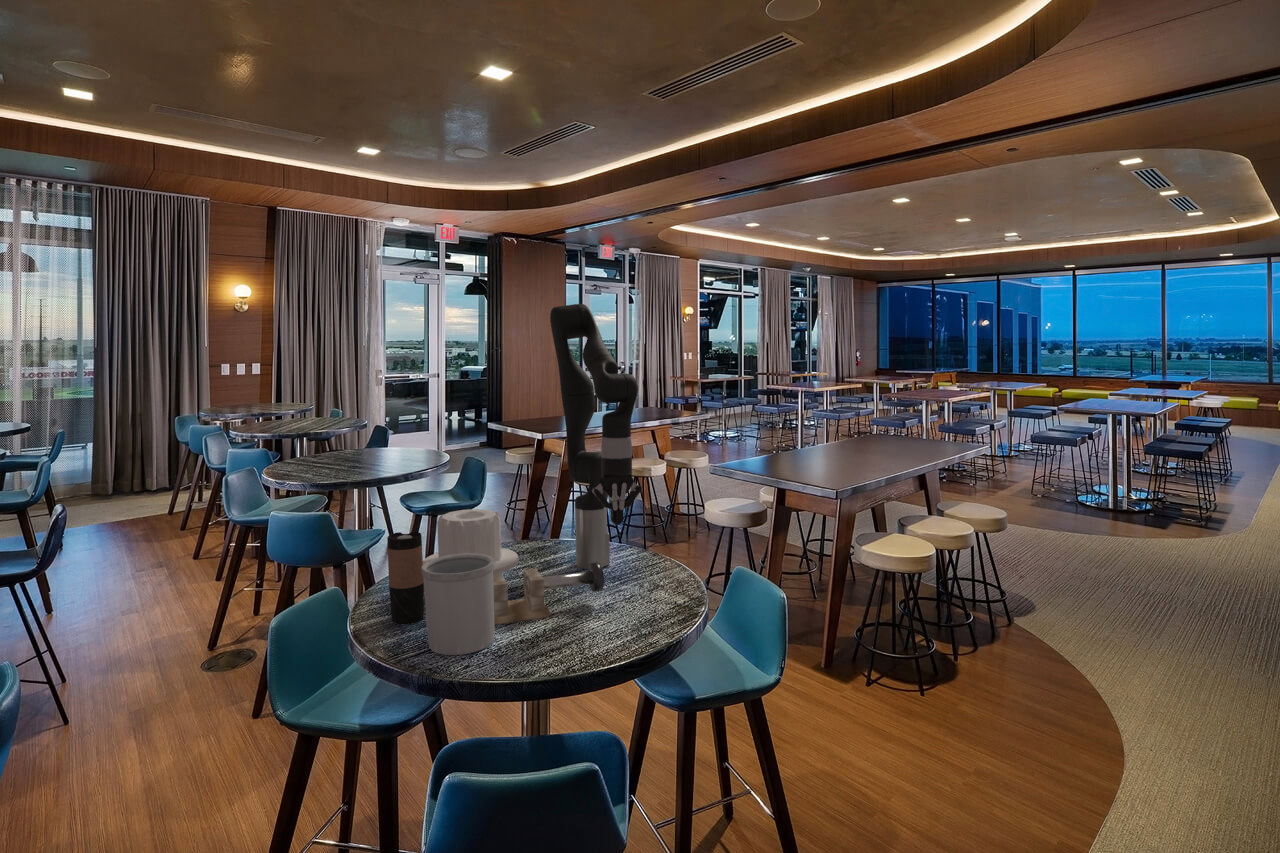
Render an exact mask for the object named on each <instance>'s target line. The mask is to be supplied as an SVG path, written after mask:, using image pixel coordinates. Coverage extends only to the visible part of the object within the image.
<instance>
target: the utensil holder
mask: <svg viewBox="0 0 1280 853" xmlns="http://www.w3.org/2000/svg"><path fill="white" fill-rule="evenodd" d="M493 567H494V561H493V559H492V558H491V557H490V556H487V555H484V554H475V553H464V554H453V555H447V556H443V557H439V558H435V559H432V560H430V561H428V562H426V563H424V564H423V565H422V568H421V569H422V575H423V578H424V610H425V620H426V623H425V624H426V632H427V642H428V643H427V644H428V647H429V650H430V649H431V650H432V651H431V650H430V651H431V652H433V653H435V652H436V653H435V654H439V655H444V656H462V655H468V654H472V653H477V652H479V651H482V650H484V649H486V648H488V647H489V646H490V645H492V644H493V642H494V641H495V625H494V591H493Z"/></svg>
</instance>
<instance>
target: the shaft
mask: <svg viewBox="0 0 1280 853" xmlns="http://www.w3.org/2000/svg"><path fill="white" fill-rule="evenodd" d="M604 577H605V576H604V570H603V567H602V566H601V564H600V563H599V562H595V563H590V564H589V566H588V569H587V571H581V572H575V573H574V572H573V573H565V574H558V575H550V576H542V578H543V579H544V591H546V590H552V589H554V590H555V589H562V588H568V587H576V586H584V585H588V586H589V588H590V591H592V592H593V593H595V592H596V593H597V592H601V591H603V590H604V587H605V578H604ZM526 587H527V591H528V592H529V579H527V580H526Z"/></svg>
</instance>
